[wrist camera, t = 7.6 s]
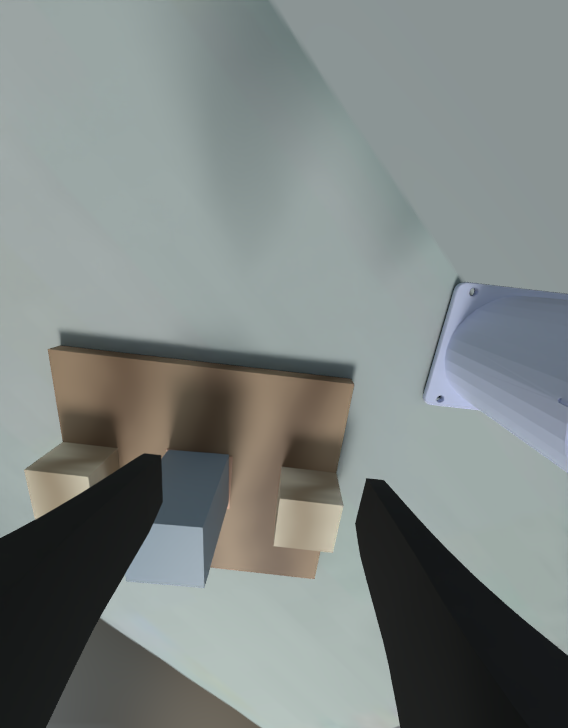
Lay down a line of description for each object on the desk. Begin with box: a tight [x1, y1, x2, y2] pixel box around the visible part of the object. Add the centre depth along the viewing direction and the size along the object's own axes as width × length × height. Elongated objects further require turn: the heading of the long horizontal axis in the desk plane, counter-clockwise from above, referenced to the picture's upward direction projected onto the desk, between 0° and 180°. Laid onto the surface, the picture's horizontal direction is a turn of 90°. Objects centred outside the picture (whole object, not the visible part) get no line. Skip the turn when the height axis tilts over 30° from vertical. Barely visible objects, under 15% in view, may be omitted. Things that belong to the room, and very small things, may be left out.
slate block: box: [125, 450, 229, 588], centre depth 17 cm, size 4×4×6 cm
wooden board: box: [24, 346, 354, 579], centre depth 20 cm, size 20×18×4 cm
